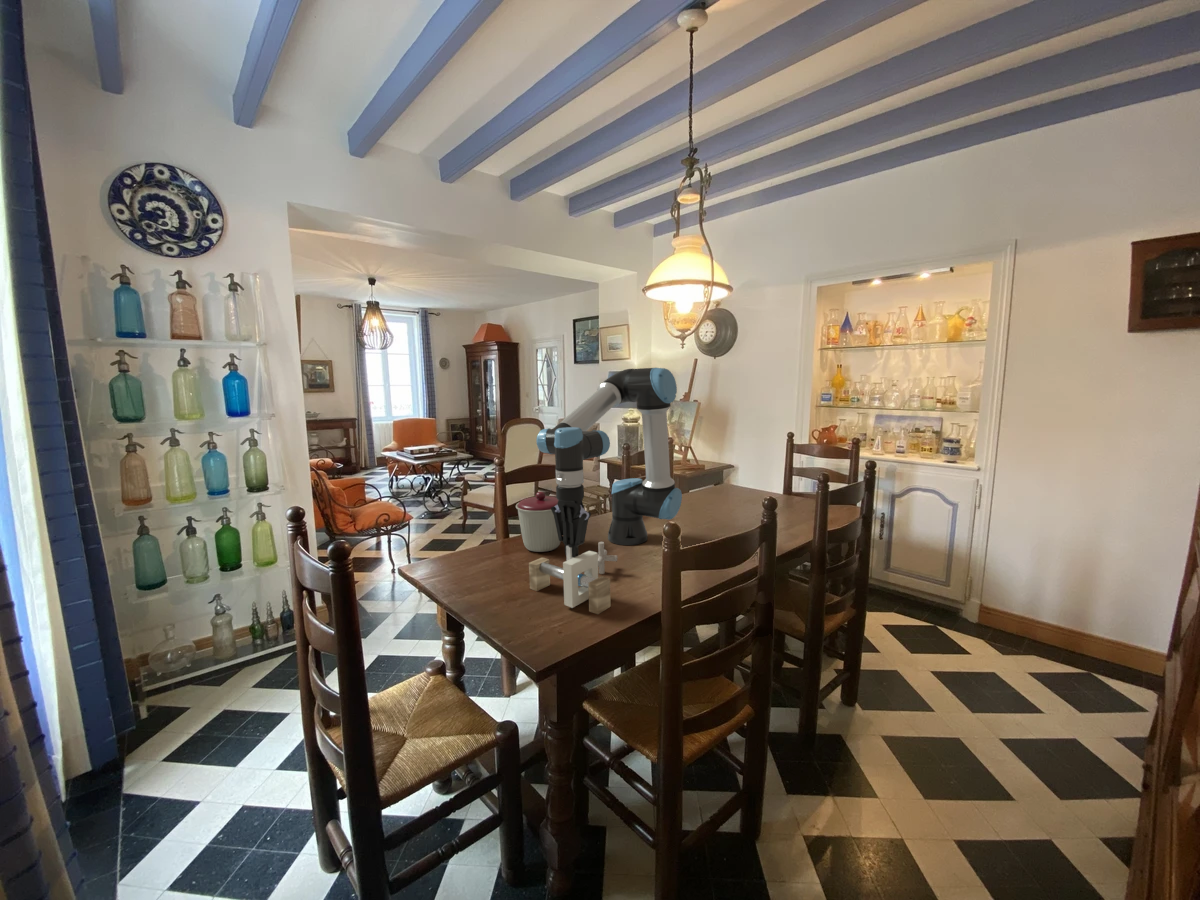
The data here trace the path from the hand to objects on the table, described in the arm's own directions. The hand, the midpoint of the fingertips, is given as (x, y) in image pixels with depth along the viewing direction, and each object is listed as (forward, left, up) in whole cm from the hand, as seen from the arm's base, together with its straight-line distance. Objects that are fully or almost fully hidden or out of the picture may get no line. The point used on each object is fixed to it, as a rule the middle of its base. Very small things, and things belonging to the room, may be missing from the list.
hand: (572, 567), depth 133 cm
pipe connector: (-19, -5, -10) cm, 22 cm away
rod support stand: (0, -2, -10) cm, 10 cm away
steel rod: (0, -2, -5) cm, 5 cm away
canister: (-24, -37, -10) cm, 45 cm away
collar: (0, +3, -8) cm, 9 cm away
